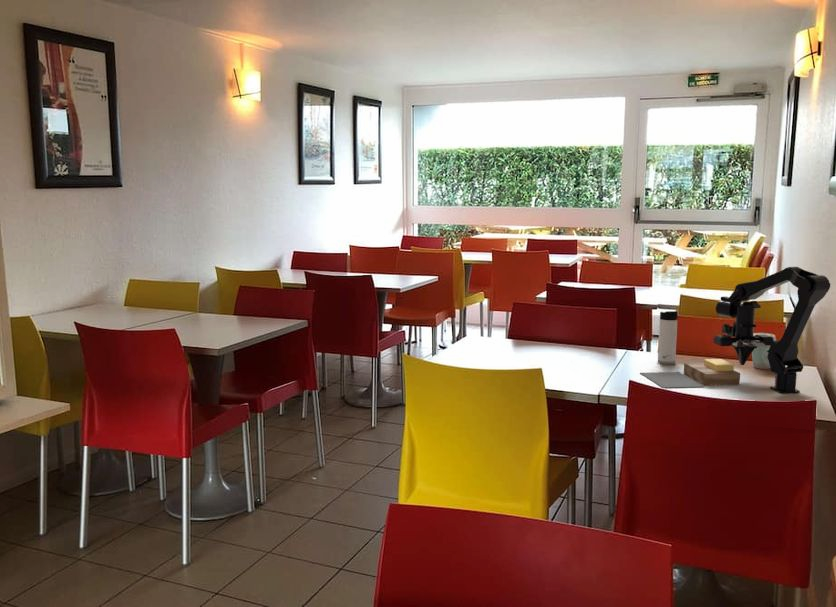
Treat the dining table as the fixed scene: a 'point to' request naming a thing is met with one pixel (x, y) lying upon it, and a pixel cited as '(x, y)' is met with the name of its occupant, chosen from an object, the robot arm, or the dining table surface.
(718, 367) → the yellow flat block
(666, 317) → the travel mug
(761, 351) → the coffee cup
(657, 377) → the mat
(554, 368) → the dining table surface
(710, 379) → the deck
